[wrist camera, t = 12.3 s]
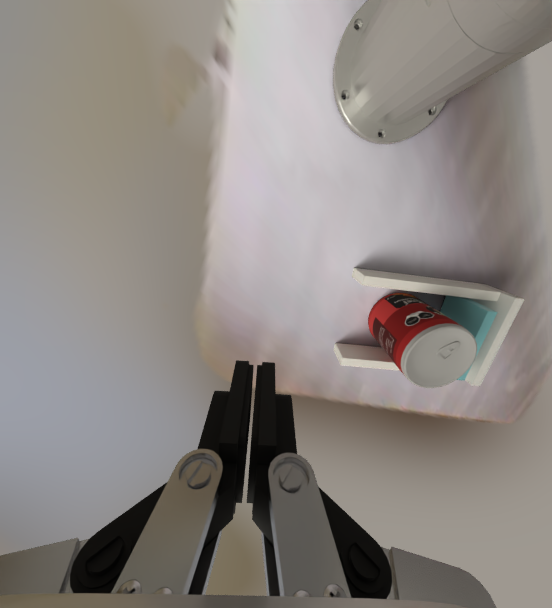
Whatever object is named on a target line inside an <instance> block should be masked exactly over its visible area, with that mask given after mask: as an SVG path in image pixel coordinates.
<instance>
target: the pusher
mask: <svg viewBox="0 0 552 608" xmlns="http://www.w3.org/2000/svg"><path fill="white" fill-rule="evenodd" d="M440 312H441V313H442V314H444V315H446V316H447V317H449V318H450V319H452V320H454V321H455V322H457V323H458V324H459V325H461V326H463V327H464V328H465V329H467V330H468V331H469V332H470V333H471V334H472V335H473V336H474V338H475V340H476V343H477V353H476V356H477V354H478V352H479V350H480V348H481V346H482V343H483V341H484V339H485V337H486V335H487V333H488V331H489V329H490V327H491V325H492V323H493V321H494V319H495V317H496V315H497V313H498V312H496V311H494V310H492V309H490V308H488V307H485V306H483V305H481V304H479V303H477V302H475V301H473V300H471V299H469V298H465V297H456V296H448V295H446V297H445V300H444V302H443V305H442V307H441V310H440ZM475 358H476V357H475ZM472 364H473V363H472ZM471 366H472V365H471ZM470 368H471V367H470ZM470 368H469V369H468V370H467V371H466V372H465V373H464V374H463V375H462V376H461V377H460V378H458V379H457V380H465V378H466V376H467V374H468V372H469V370H470Z"/></svg>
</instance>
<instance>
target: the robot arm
mask: <svg viewBox="0 0 552 608" xmlns="http://www.w3.org/2000/svg"><path fill="white" fill-rule="evenodd" d="M354 27H356V28H357V29H358V31H357V30H356V29H355V28H354ZM551 41H552V0H368V1H366V2H365V3H364V4H363V5H362V7H361V8H360V9H359V10H358V11H357V12H356V14H355V15H354V16H353V18H352V20H351V21H350V23H349V25H348V26H347V28H346V30H345V32H344V34H343V37H342V39H341V41H340V44H339V47H338V50H337V53H336V57H335V63H334V69H333V88H334V95H335V100H336V103H337V107H338V110H339V112H340V114H341V116H342V118H343V120H344V122H345V123H346V124H347V125H348V127H349V128H350V129H351V130H352V131H353V132H354V133H355V134H357V135H358V136H359V137H361V138H363V139H365V140H367V141H369V142H373V143H377V144H392V143H396V142H401V141H403V140H405V139H408V138H410V137H412V136H414V135H415V134H417V133H419V132H420V131H422V130H423V129H424V128H425V127H427V126H428V125H429V124H430V123H431V122H432V121H433V120H434V119H435V118H436V117H437V115H438V114H439V113H440V111H441V110H442V108H443V107H444V105H445V104H446V102H447V100H448V99H449V98H451V97H453V96H454V95H456V94H458V93H460V92H462V91H463V90H465V89H467V88H469V87H470V86H472V85H474V84H476V83H478V82H479V81H481V80H483V79H485V78H486V77H488V76H490V75H492V74H494V73H495V72H497V71H499V70H501V69H503V68H504V67H506V66H508V65H510V64H511V63H513V62H515V61H517V60H519V59H520V58H522V57H524V56H526V55H527V54H529V53H531V52H533V51H535V50H536V49H538V48H540V47H542V46H543V45H545V44H547V43H549V42H551ZM342 95H344V96H345V100H343V99H342V97H341V96H342ZM428 111H429V113H428ZM378 133H380V134H381V137H379V136H378ZM252 380H253V365H249V361H236V364H235V369H234V374H233V378H232V383H231V388H230V392H228V391H215V392H214V394H213V397H212V401H211V404H210V408H209V411H208V415H207V418H206V422H205V425H204V429H203V432H202V435H201V439H200V443H199V446H198V449H197V450H193V451H191V452H189V453H187V454H186V455H185V456H184V457H182V459H180V461H179V462H178V464H177V465H176V467H175V469H174V471H173V473H172V475H171V477H170V479H169V481H168V482H167V483H165V484H164V485H163V486H161V487H160V488H158V489H157V490H156V491H154V492H153V493H151V494H150V495H149V496H147V497H146V498H144V499H143V500H142V501H140V502H139V503H137V504H136V505H135V506H133V507H132V508H130V509H129V510H128V511H126V512H125V513H123V514H122V515H121V516H119V517H118V518H116V519H115V520H114V521H112V522H111V523H109V524H108V525H107V526H105V527H104V528H102V529H101V530H100V531H98V532H97V533H96V534H95V535H94V536H92V537H91V538H90V539H87V540H83V541H79V539H78V538H75V539H70V540H66V541H62V542H57V543H53V544H49V545H44V546H40V547H35V548H31V549H27V550H22V551H18V552H14V553H9V554H5V555H1V556H0V608H496V606H495V604H494V602H493V600H492V598H491V596H490V594H489V593H488V592H487V590H486V589H485V588H484V587H483V585H482V584H481V583H480V582H479V581H478V580H477V579H476V578H475V577H473V576H472V575H471V574H470V573H468V572H466V571H464V570H462V569H460V568H457V567H454V566H451V565H448V564H445V563H442V562H438V561H436V560H432V559H429V558H426V557H423V556H420V555H416V554H413V553H410V552H407V551H404V550H401V549H398V548H394V547H391V549H390V550H389V549H386V548H383V547H380V545H379V544H378V543H377V542H376V541H375V540H374V539H373V538H372V537H371V536H370V535H369V534H368V533H367V532H366V531H365V530H364V529H363V528H362V527H361V526H359V525H358V524H357V523H356V522H355V521H354V520H353V519H352V518H351V517H350V516H349V515H348V514H347V513H346V512H345V511H344V510H342V509H341V508H340V507H339V506H338V505H337V504H336V503H335V502H334V501H333V500H332V499H331V498H330V497H329V496H328V495H327V494H326V493H324V492H323V491H322V490H321V489H320V488H319V487H318V485H317V481H316V478H315V474H314V471H313V469H312V467H311V465H310V464H309V463H308V462H307V460H306V459H304V458H303V457H302V456H300V455H298V454H297V449H296V439H295V428H294V418H293V408H292V398H291V395H281V394H275V363H269V362H262V365H257V376H256V388H255V401H254V413H253V425H252V426H253V427H252V438H251V451H250V465H249V479H248V493H247V503H253V510H252V514H253V518H252V520H253V521H254V522H255V523H256V525H257V526H258V527H259V529H260V530H261V531H262V547H263V557H264V569H265V580H266V590H267V596H234V595H205V593H206V589H207V586H208V582H209V578H210V574H211V571H212V567H213V563H214V560H215V556H216V552H217V549H218V545H219V541H220V538H221V533H222V529H223V528H224V527H225V526H226V525H227V524H228V523H229V522H230V521H231V520H232V519H233V513H235V506H236V503H242V496H243V486H244V475H245V464H246V454H247V444H248V433H249V423H250V410H251V395H252Z"/></svg>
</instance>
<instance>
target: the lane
mask: <svg viewBox="0 0 552 608" xmlns="http://www.w3.org/2000/svg"><path fill="white" fill-rule="evenodd" d="M352 277H353V278H354V279H355V280H357V281H358V282H359V283H360V284H361V285H364V286H372V287H381V288H389V289H397V290H406V291H414V292H423V293H431V294H439V295H448V296H456V297H465V298H470V299H471V300H473V301H475V302H477V303H479V304H481V305H483V306H485V307H488V308H490V309H492V310H494V311H496V312H498V313H497V315H496V317H495V319H494V321H493V323H492V325H491V327H490V329H489V331H488V333H487V335H486V337H485V339H484V341H483V343H482V346H481V348H480V350H479V352H478V354H477V356H476V358H475V360H474V362H473V364H472V366H471V368H470V370H469V372H468V374H467V376H466V378H465V380H466V381H467V382H468V383H469V384H470V385H471V386H480V385H481V383H482V381H483V379H484V377H485V375H486V373H487V371H488V369H489V367H490V365H491V363H492V361H493V360H494V358H495V356H496V354H497V352H498V350H499V348H500V346H501V344H502V342H503V340H504V338H505V336H506V334H507V332H508V331H509V329H510V327H511V325H512V323H513V321H514V319H515V317H516V315H517V313H518V311H519V309H520V307H521V305H522V303H523V302H524V300H525V299H523V298H520V297H518V296H515V295H512V294H510V293H507V292H505V291H502V290H499V289H497V288H494V287H491V286H489V285H486V284H480V283H472V282H464V281H456V280H448V279H440V278H432V277H424V276H416V275H408V274H400V273H392V272H384V271H376V270H368V269H360V268H354V270H353V274H352ZM334 352H335V354H336V356H337V358H338V360H339V362H340V365H343V366H354V367H365V368H376V369H387V370H398V371H400V370H399V368H398V367H397V366H396V365H395V363H394V362H393V361H392V359H391V358H390V357H389V356H388V354H387V353H386V352H385V351H384V349H383V348H382V347H372V346H362V345H352V344H341V343H335V346H334Z"/></svg>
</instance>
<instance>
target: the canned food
mask: <svg viewBox="0 0 552 608" xmlns="http://www.w3.org/2000/svg"><path fill="white" fill-rule="evenodd" d="M368 324H369V329H370V332H371V334H372V335H373V337H374V338H375V339H376V340H377V342H378V343H379V344H380V345H381V347H382V348H383V349H384V351H385V352H386V353H387V354H388V356H389V357H390V358H391V359H392V361H393V362H394V363H395V365H396V366H397V367H398V368H399V370H400V371H401V372H402V373H403V374H404V376H405V377H406V378H407V379H408V380H409V381H410V382H411V383H413V384H414V385H417V386H419V387H423V388H436V387H441V386H444V385H447V384H449V383H452V382H454V381H455V380H457V379H458V378H460V377H461V376H462V375H463V374H464V373H465V372H466V371H467V370H468V369H469V368H470V367H471V365H472V363H473V362H474V360H475V357H476V353H477V343H476V340H475V338H474V336H473V335H472V334H471V333H470V332H469V331H468V330H467V329H465V328H464V327H463V326H461V325H459V324H458V323H457V322H455V321H454V320H452V319H450V318H449V317H447V316H446V315H444V314H442V313H441V312H439V311H438V310H436V309H434V308H433V307H431V306H430V305H428V304H426V303H425V302H423V301H422V300H420V299H418V298H417V297H415V296H413V295H411V294H407V293H394V294H390V295H387V296H385V297H383V298H382V299H380V300H379V301H378V302H377V303H376V304H375V305H374V306H373V308H372V309H371V312H370V314H369V318H368Z"/></svg>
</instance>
